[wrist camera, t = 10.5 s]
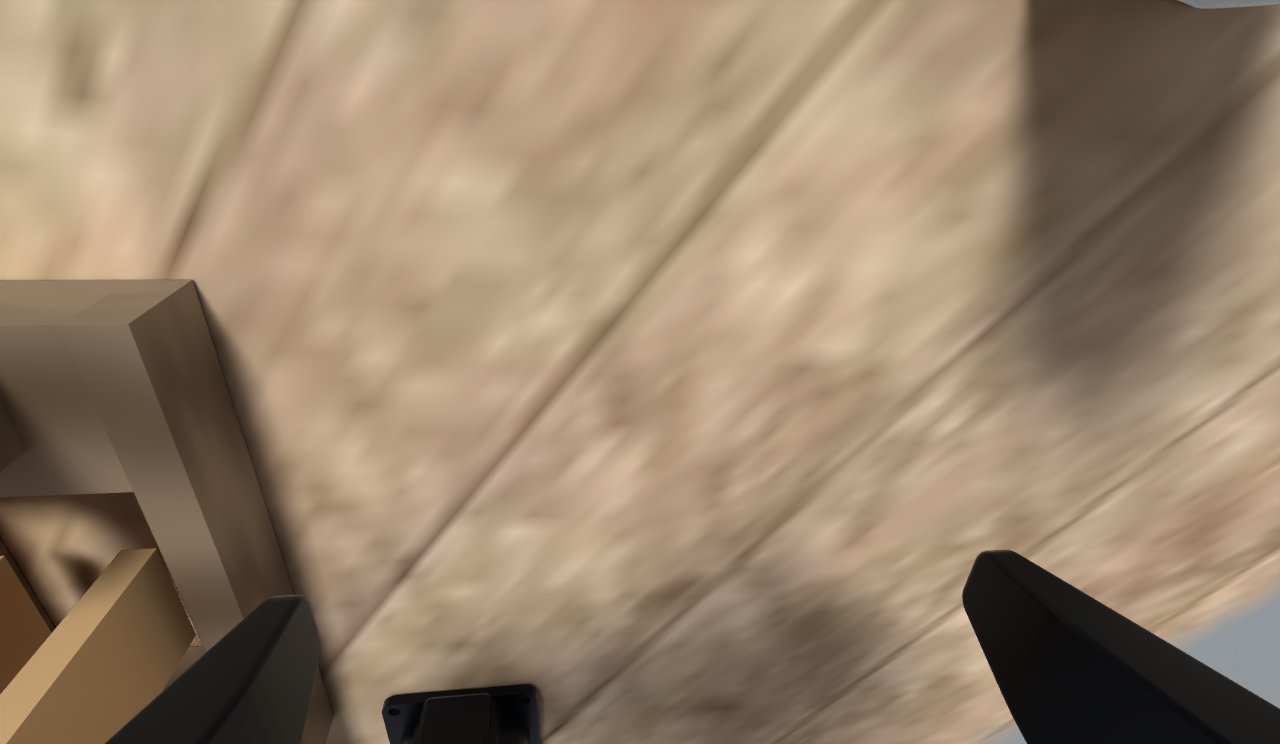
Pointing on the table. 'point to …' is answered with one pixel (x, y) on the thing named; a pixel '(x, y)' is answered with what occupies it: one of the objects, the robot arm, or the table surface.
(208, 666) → the robot arm
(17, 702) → the clip
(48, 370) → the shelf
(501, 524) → the table surface
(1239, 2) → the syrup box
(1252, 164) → the table surface
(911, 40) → the table surface
